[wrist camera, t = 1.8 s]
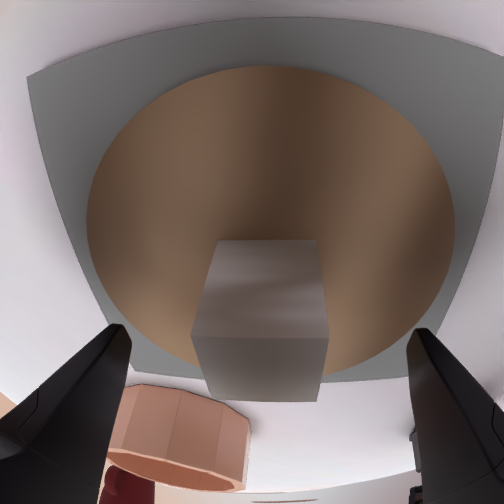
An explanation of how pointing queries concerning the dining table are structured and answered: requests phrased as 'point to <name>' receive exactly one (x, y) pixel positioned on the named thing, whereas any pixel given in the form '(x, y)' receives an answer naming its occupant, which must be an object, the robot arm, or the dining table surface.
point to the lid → (270, 228)
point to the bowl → (180, 440)
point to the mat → (277, 54)
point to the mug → (126, 488)
